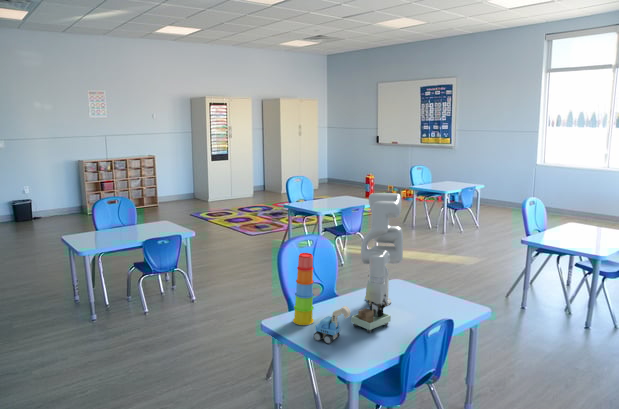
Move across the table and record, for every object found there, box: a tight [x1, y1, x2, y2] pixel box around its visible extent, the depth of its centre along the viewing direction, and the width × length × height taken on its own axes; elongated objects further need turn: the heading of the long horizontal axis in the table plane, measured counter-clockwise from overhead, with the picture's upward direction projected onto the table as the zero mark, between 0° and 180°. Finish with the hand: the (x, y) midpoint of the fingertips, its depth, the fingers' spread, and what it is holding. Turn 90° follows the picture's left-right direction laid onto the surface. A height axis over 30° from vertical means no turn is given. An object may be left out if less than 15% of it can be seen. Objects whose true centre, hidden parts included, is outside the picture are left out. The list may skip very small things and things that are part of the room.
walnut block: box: [358, 307, 374, 323], centre depth 240 cm, size 5×5×6 cm
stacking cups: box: [292, 252, 315, 326], centre depth 246 cm, size 10×10×35 cm
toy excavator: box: [313, 305, 351, 345], centre depth 226 cm, size 9×17×17 cm, turn 58°
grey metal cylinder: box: [372, 303, 379, 317], centre depth 244 cm, size 4×4×6 cm
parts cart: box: [350, 312, 392, 334], centre depth 242 cm, size 12×15×5 cm
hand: (376, 314), depth 245 cm, fingers closed on grey metal cylinder, 4 cm apart
